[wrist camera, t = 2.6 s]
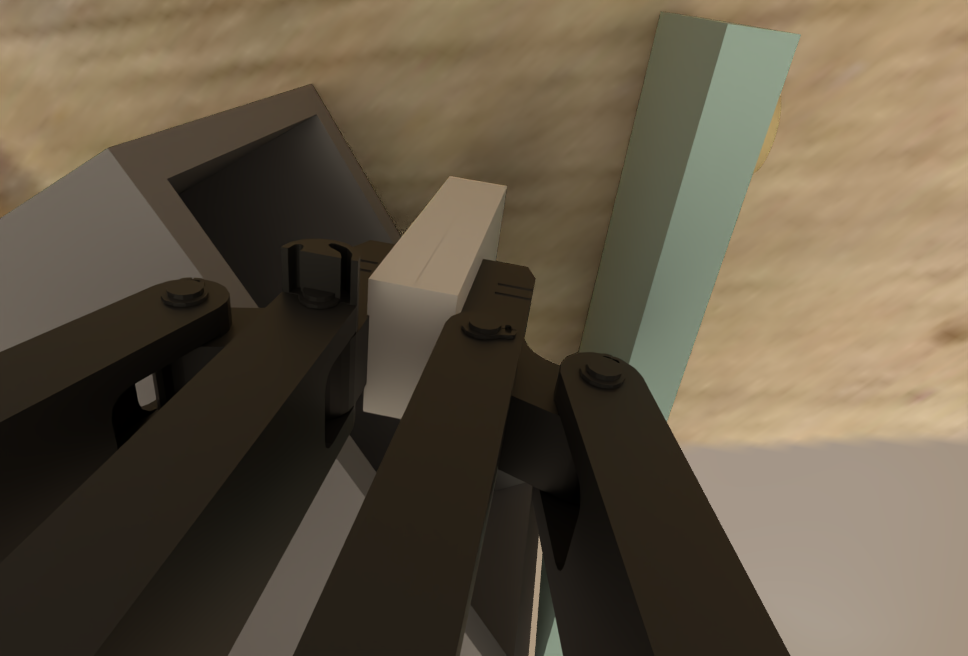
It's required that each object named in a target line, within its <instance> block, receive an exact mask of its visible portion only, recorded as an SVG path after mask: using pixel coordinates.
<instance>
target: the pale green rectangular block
mask: <svg viewBox="0 0 968 656" xmlns="http://www.w3.org/2000/svg"><path fill="white" fill-rule="evenodd" d="M800 36H801V35H800V34H794V33H788V32H783V31H777V30H771V29H765V28H759V27H753V26H747V25H742V24H736V23H730V22H724V21H718V20H712V19H706V18H701V17H694V16H687V15H681V14H674V13H667V12H661V13H660V17H659V21H658V25H657V30H656V34H655V38H654V42H653V46H652V50H651V54H650V59H649V63H648V67H647V71H646V75H645V79H644V83H643V88H642V92H641V96H640V100H639V104H638V108H637V112H636V117H635V121H634V125H633V129H632V133H631V137H630V141H629V146H628V150H627V154H626V158H625V162H624V166H623V170H622V175H621V179H620V183H619V187H618V191H617V195H616V199H615V204H614V208H613V212H612V216H611V220H610V224H609V228H608V233H607V237H606V241H605V245H604V249H603V253H602V257H601V262H600V266H599V270H598V274H597V278H596V282H595V286H594V290H593V295H592V299H591V303H590V307H589V311H588V315H587V319H586V324H585V328H584V332H583V336H582V340H581V344H580V348H579V353H581V352H595V353H601V354H602V353H605V354H609V355H612V356H613V357H614V356H615V357H617V358H620V359H622V360H623V361H625V362H626V363H628V364H629V365H631V366H633V367H634V368H635V369H636V370H637V371H638V372H639V373H640V374H641V376H642V377H643V378H644V380H645V382H646V384H647V386H648V388H649V390H650V391H651V393H652V395H653V397H654V399H655V401H656V403H657V405H658V407H659V408H660V410H661V412H662V414H663V416H664V418H665V420H666V422H667V420H668V417H669V414H670V411H671V408H672V406H673V403H674V400H675V397H676V394H677V391H678V388H679V385H680V382H681V380H682V377H683V374H684V371H685V368H686V365H687V362H688V359H689V356H690V354H691V351H692V348H693V345H694V342H695V339H696V336H697V333H698V330H699V328H700V325H701V322H702V319H703V316H704V313H705V310H706V307H707V304H708V302H709V299H710V296H711V293H712V290H713V287H714V284H715V281H716V279H717V276H718V273H719V270H720V267H721V264H722V261H723V258H724V255H725V253H726V250H727V247H728V244H729V241H730V238H731V235H732V232H733V229H734V227H735V224H736V221H737V218H738V215H739V212H740V209H741V206H742V203H743V201H744V198H745V195H746V192H747V189H748V186H749V183H750V180H751V177H752V175H753V173H755V172H756V171H758V170H759V169H760V167H761V166H762V165H763V163H764V161H765V160H766V158H767V156H768V154H769V152H770V149H771V147H772V144H773V142H774V139H775V136H776V132H777V129H778V124H779V120H780V114H781V96H780V94H781V91H782V88H783V85H784V82H785V79H786V76H787V73H788V71H789V68H790V65H791V62H792V59H793V56H794V53H795V50H796V47H797V45H798V42H799V39H800ZM535 656H563V653H562V648H561V643H560V638H559V633H558V628H557V623H556V618H555V613H554V608H553V603H552V598H551V593H550V588H549V583H548V578H547V573H546V568H545V563H544V557H543V554H542V568H541V582H540V594H539V607H538V621H537V633H536V647H535Z"/></svg>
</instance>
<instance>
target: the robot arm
mask: <svg viewBox="0 0 968 656" xmlns="http://www.w3.org/2000/svg"><path fill="white" fill-rule="evenodd" d="M506 190H507V186H505V185H499V184H493V183H488V182H482V181H476V180H470V179H465V178H459V177H453V176H449V178H448V179H447V180H446V181H445V183H444V184H443V185H442V186H441V188H440V189H439V190H438V192H437V193H436V194H435V195H434V197H433V198H432V199H431V200H430V202H429V203H428V204H427V205H426V207H425V208H424V209H423V210H422V212H421V213H420V214H419V216H418V217H417V218H416V219H415V221H414V222H413V223H412V224H411V226H410V227H409V228H408V229H407V231H406V232H405V233H404V234H403V236H402V237H401V238H400V240H399V241H398V242H397V243H396V245H395V244H390V243H384V242H379V241H373V240H369V241H367V242H364V243H362V244H359V245H356V246H354V247H352V246H350V245H349V244H346V243H343V242H339V241H336V240H329V239H302V240H297V241H293V242H289V243H287V244H285V245H283V246H282V247H281V271H282V292H281V293H280V294H279V295H278V296H277V297H276V298H275V299H274V300H273V301H272V302H271V303H270V304H269V305H268V306H267V307H266V308H237V307H231V303H230V293H229V292H228V290H227V288H226V287H225V286H223V285H221V284H219V283H217V282H214V281H209V280H204V279H202V278H194V279H192V277H191V278H181V279H178V280H170V281H166V282H163V283H160V284H157V285H154V286H152V287H149V288H147V289H145V290H142V291H140V292H138V293H135V294H133V295H131V296H128V297H126V298H124V299H121V300H119V301H117V302H115V303H112V304H110V305H108V306H105V307H103V308H101V309H98V310H96V311H94V312H91V313H89V314H87V315H85V316H82V317H80V318H78V319H75V320H73V321H71V322H68V323H66V324H64V325H61V326H59V327H57V328H54V329H52V330H50V331H48V332H45V333H43V334H41V335H38V336H36V337H34V338H31V339H29V340H27V341H24V342H22V343H20V344H18V345H15V346H13V347H11V348H8V349H6V350H4V351H1V352H0V656H228V655H229V653H230V651H231V649H232V647H233V645H234V644H235V642H236V640H237V638H238V636H239V635H240V633H241V631H242V629H243V627H244V625H245V624H246V622H247V620H248V618H249V616H250V615H251V613H252V611H253V609H254V607H255V605H256V604H257V602H258V600H259V598H260V596H261V595H262V593H263V591H264V589H265V587H266V585H267V584H268V582H269V580H270V578H271V576H272V575H273V573H274V571H275V569H276V567H277V565H278V564H279V562H280V560H281V558H282V556H283V555H284V553H285V551H286V549H287V547H288V545H289V544H290V542H291V540H292V538H293V536H294V535H295V533H296V531H297V529H298V527H299V525H300V524H301V522H302V520H303V518H304V516H305V514H306V513H307V511H308V509H309V507H310V505H311V504H312V502H313V500H314V498H315V496H316V494H317V493H318V491H319V489H320V487H321V485H322V484H323V482H324V480H325V478H326V476H327V474H328V473H329V471H330V469H331V467H332V465H333V464H334V462H335V460H336V458H337V456H338V454H339V453H340V451H341V449H342V447H343V445H344V444H345V442H346V440H347V438H348V436H349V434H350V433H351V431H352V429H353V426H354V422H355V403H356V401H357V399H358V397H359V396H360V394H361V392H362V391H363V389H364V400H363V411H364V412H369V413H374V414H379V415H384V416H389V417H394V418H398V419H401V420H400V423H399V425H398V427H397V429H396V431H395V434H394V436H393V438H392V440H391V442H390V444H389V447H388V449H387V451H386V453H385V455H384V458H383V460H382V462H381V464H380V466H379V468H378V471H377V473H376V475H375V477H374V479H373V482H372V484H371V486H370V488H369V490H368V492H367V495H366V497H365V499H364V501H363V503H362V506H361V508H360V510H359V512H358V514H357V516H356V519H355V521H354V523H353V525H352V527H351V530H350V532H349V534H348V536H347V538H346V540H345V543H344V545H343V547H342V549H341V551H340V554H339V556H338V558H337V560H336V562H335V564H334V567H333V569H332V571H331V573H330V575H329V578H328V580H327V582H326V584H325V586H324V588H323V591H322V593H321V595H320V597H319V599H318V602H317V604H316V606H315V608H314V610H313V613H312V615H311V617H310V619H309V621H308V623H307V626H306V628H305V630H304V632H303V634H302V637H301V639H300V641H299V643H298V645H297V647H296V650H295V652H294V654H293V656H460V653H461V648H462V643H463V638H464V633H465V628H466V623H467V619H468V614H469V609H470V604H471V599H472V594H473V589H474V584H475V580H476V575H477V570H478V565H479V560H480V555H481V550H482V545H483V541H484V536H485V531H486V526H487V521H488V516H489V511H490V507H491V502H492V497H493V492H494V490H495V485H496V479H497V474H498V469H499V470H501V471H503V472H505V473H507V474H509V475H511V476H513V477H515V478H517V479H519V480H521V481H524V482H526V483H528V484H530V485H532V486H533V487H532V502H533V507H534V512H535V517H536V522H537V527H538V532H539V537H540V542H541V547H542V552H543V557H544V563H545V568H546V573H547V578H548V583H549V588H550V593H551V598H552V603H553V608H554V613H555V618H556V623H557V628H558V633H559V638H560V643H561V648H562V653H563V656H790V654H789V652H788V651H787V648H786V647H785V645H784V643H783V641H782V639H781V637H780V636H779V634H778V632H777V630H776V628H775V626H774V624H773V622H772V620H771V618H770V616H769V614H768V613H767V611H766V609H765V607H764V605H763V603H762V601H761V599H760V597H759V596H758V594H757V592H756V590H755V588H754V586H753V584H752V582H751V580H750V579H749V577H748V575H747V573H746V571H745V569H744V567H743V565H742V563H741V562H740V560H739V558H738V556H737V554H736V552H735V550H734V548H733V546H732V545H731V543H730V541H729V539H728V537H727V535H726V533H725V531H724V529H723V528H722V526H721V524H720V522H719V520H718V518H717V516H716V514H715V512H714V511H713V509H712V507H711V505H710V503H709V501H708V499H707V497H706V495H705V494H704V492H703V490H702V488H701V486H700V484H699V482H698V480H697V478H696V476H695V475H694V473H693V471H692V469H691V467H690V465H689V463H688V461H687V460H686V458H685V456H684V454H683V452H682V450H681V448H680V446H679V444H678V442H677V441H676V439H675V437H674V435H673V433H672V431H671V429H670V427H669V425H668V424H667V422H666V420H665V418H664V416H663V414H662V412H661V410H660V408H659V407H658V405H657V403H656V401H655V399H654V397H653V395H652V393H651V391H650V390H649V388H648V386H647V384H646V382H645V380H644V378H643V377H642V376H641V374H640V373H639V372H638V371H637V370H636V369H635V368H634V367H633V366H631V365H629V364H628V363H626V362H625V361H623V360H622V359H620V358H617V357H615V356H614V357H613V356H612V355H609V354H605V353H602V354H601V353H595V352H581V353H576V354H573V355H570V356H567V357H566V358H565V359H564V360H563V361H562V363H561V364H560V366H559V365H556V364H554V363H552V362H549V361H547V360H545V359H543V358H541V357H540V356H539V355H537V354H536V353H534V352H533V351H532V350H531V349H530V348H529V347H528V346H527V344H526V342H525V339H524V337H525V332H526V327H527V321H528V316H529V311H530V305H531V300H532V295H533V289H534V284H535V279H536V278H535V277H534V275H533V274H532V272H531V271H530V269H529V268H528V267H525V266H519V265H514V264H509V263H503V262H498V261H496V257H497V250H498V243H499V237H500V230H501V224H502V217H503V210H504V204H505V197H506ZM151 374H152V377H153V383H154V389H155V395H156V400H154V401H153V402H151V403H149V404H147V405H144V406H140V404H139V402H138V397H137V391H136V386H135V384H136V383H137V382H139V381H141V380H143V379H144V378H146V377H148V376H149V375H151Z"/></svg>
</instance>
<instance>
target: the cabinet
mask: <svg viewBox="0 0 968 656" xmlns="http://www.w3.org/2000/svg"><path fill="white" fill-rule="evenodd" d="M400 238H401V236H400V234H399V232H398V231H397V229H396V227H395V226H394V224H393V222H392V220H391V219H390V217H389V215H388V214H387V212H386V210H385V208H384V207H383V205H382V203H381V202H380V200H379V198H378V196H377V195H376V193H375V191H374V190H373V188H372V186H371V184H370V183H369V181H368V179H367V178H366V176H365V174H364V172H363V171H362V169H361V167H360V166H359V164H358V162H357V160H356V159H355V157H354V155H353V154H352V152H351V150H350V148H349V147H348V145H347V143H346V142H345V140H344V138H343V136H342V135H341V133H340V131H339V130H338V128H337V126H336V124H335V123H334V121H333V119H332V118H331V116H330V114H329V112H328V111H327V109H326V107H325V106H324V104H323V102H322V100H321V99H320V97H319V95H318V94H317V92H316V90H315V88H314V87H313V85H312V84H309V85H306V86H303V87H300V88H297V89H293V90H290V91H287V92H284V93H281V94H278V95H274V96H271V97H268V98H265V99H262V100H258V101H255V102H252V103H249V104H246V105H243V106H239V107H236V108H233V109H230V110H227V111H224V112H220V113H217V114H214V115H211V116H208V117H205V118H201V119H198V120H195V121H192V122H189V123H185V124H182V125H179V126H176V127H173V128H170V129H166V130H163V131H160V132H157V133H154V134H151V135H147V136H144V137H141V138H138V139H135V140H131V141H128V142H125V143H122V144H119V145H116V146H112V147H109V148H107V149H105V150H104V151H102V152H101V153H99V154H98V155H96V156H95V157H93V158H92V159H90V160H89V161H87V162H85V163H84V164H82V165H81V166H79V167H78V168H76V169H75V170H73V171H72V172H70V173H69V174H67V175H66V176H64V177H63V178H61V179H59V180H58V181H56V182H55V183H53V184H52V185H50V186H49V187H47V188H46V189H44V190H43V191H41V192H40V193H38V194H37V195H35V196H34V197H32V198H30V199H29V200H27V201H26V202H24V203H23V204H21V205H20V206H18V207H17V208H15V209H14V210H12V211H11V212H9V213H8V214H6V215H4V216H3V217H1V218H0V352H1V351H4V350H6V349H8V348H11V347H13V346H15V345H18V344H20V343H22V342H24V341H27V340H29V339H31V338H34V337H36V336H38V335H41V334H43V333H45V332H48V331H50V330H52V329H54V328H57V327H59V326H61V325H64V324H66V323H68V322H71V321H73V320H75V319H78V318H80V317H82V316H85V315H87V314H89V313H91V312H94V311H96V310H98V309H101V308H103V307H105V306H108V305H110V304H112V303H115V302H117V301H119V300H121V299H124V298H126V297H128V296H131V295H133V294H135V293H138V292H140V291H142V290H145V289H147V288H149V287H152V286H154V285H157V284H160V283H163V282H166V281H170V280H178V279H181V278H191V277H192V279H194V278H202V279H204V280H209V281H214V282H217V283H219V284H221V285H223V286H225V287H226V288H227V290H228V292H229V293H230V303H231V307H237V308H266V307H267V306H268V305H269V304H270V303H271V302H272V301H273V300H274V299H275V298H276V297H277V296H278V295H279V294H280V293H281V292H282V271H281V247H282V246H283V245H285V244H287V243H289V242H293V241H297V240H302V239H329V240H336V241H339V242H343V243H346V244H349V245H350V246H352V247H354V246H356V245H359V244H362V243H364V242H367V241H369V240H373V241H379V242H384V243H390V244H395V245H396V243H397V242H398V241H399V240H400ZM135 386H136V391H137V397H138V402H139V404H140V406H144V405H147V404H149V403H151V402H153V401H154V400H156V395H155V389H154V383H153V377H152V374H151V375H149V376H148V377H146V378H144V379H143V380H141V381H139V382H137V383H136V384H135ZM363 400H364V389H363V391H362V392H361V394H360V396H359V397H358V399H357V401H356V403H355V422H354V426H353V429H352V431H351V433H350V434H349V436H348V438H347V440H346V442H345V444H344V445H343V447H342V449H341V451H340V453H339V454H338V456H337V458H336V460H335V462H334V464H333V465H332V467H331V469H330V471H329V473H328V474H327V476H326V478H325V480H324V482H323V484H322V485H321V487H320V489H319V491H318V493H317V494H316V496H315V498H314V500H313V502H312V504H311V505H310V507H309V509H308V511H307V513H306V514H305V516H304V518H303V520H302V522H301V524H300V525H299V527H298V529H297V531H296V533H295V535H294V536H293V538H292V540H291V542H290V544H289V545H288V547H287V549H286V551H285V553H284V555H283V556H282V558H281V560H280V562H279V564H278V565H277V567H276V569H275V571H274V573H273V575H272V576H271V578H270V580H269V582H268V584H267V585H266V587H265V589H264V591H263V593H262V595H261V596H260V598H259V600H258V602H257V604H256V605H255V607H254V609H253V611H252V613H251V615H250V616H249V618H248V620H247V622H246V624H245V625H244V627H243V629H242V631H241V633H240V635H239V636H238V638H237V640H236V642H235V644H234V645H233V647H232V649H231V651H230V653H229V655H228V656H293V654H294V652H295V650H296V647H297V645H298V643H299V641H300V639H301V637H302V634H303V632H304V630H305V628H306V626H307V623H308V621H309V619H310V617H311V615H312V613H313V610H314V608H315V606H316V604H317V602H318V599H319V597H320V595H321V593H322V591H323V588H324V586H325V584H326V582H327V580H328V578H329V575H330V573H331V571H332V569H333V567H334V564H335V562H336V560H337V558H338V556H339V554H340V551H341V549H342V547H343V545H344V543H345V540H346V538H347V536H348V534H349V532H350V530H351V527H352V525H353V523H354V521H355V519H356V516H357V514H358V512H359V510H360V508H361V506H362V503H363V501H364V499H365V497H366V495H367V492H368V490H369V488H370V486H371V484H372V482H373V479H374V477H375V475H376V473H377V471H378V468H379V466H380V464H381V462H382V460H383V458H384V455H385V453H386V451H387V449H388V447H389V444H390V442H391V440H392V438H393V436H394V434H395V431H396V429H397V427H398V425H399V423H400V420H401V419H398V418H394V417H389V416H384V415H379V414H374V413H369V412H364V411H363ZM532 487H533V486H532V485H530V484H528V483H526V482H524V481H521V480H519V479H517V478H515V477H513V476H511V475H509V474H507V473H505V472H503V471H501V470H499V469H498V474H497V479H496V485H495V490H494V492H493V497H492V502H491V507H490V511H489V516H488V521H487V526H486V531H485V536H484V541H483V545H482V550H481V555H480V560H479V565H478V570H477V575H476V580H475V584H474V589H473V594H472V599H471V604H470V609H469V614H468V619H467V623H466V628H465V633H464V638H463V643H462V648H461V653H460V656H528V655H529V643H530V631H531V619H532V608H533V596H534V585H535V573H536V561H537V549H538V538H539V532H538V527H537V522H536V517H535V512H534V507H533V502H532Z"/></svg>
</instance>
